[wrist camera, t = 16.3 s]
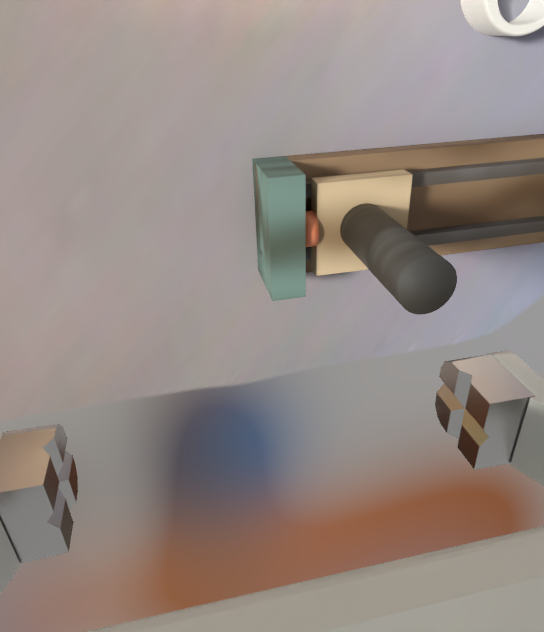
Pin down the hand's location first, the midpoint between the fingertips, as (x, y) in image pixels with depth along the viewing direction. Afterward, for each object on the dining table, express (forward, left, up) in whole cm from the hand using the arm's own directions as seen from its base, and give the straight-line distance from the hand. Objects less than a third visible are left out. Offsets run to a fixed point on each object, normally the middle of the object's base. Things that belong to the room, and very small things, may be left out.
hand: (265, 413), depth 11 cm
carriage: (+6, +12, -26) cm, 30 cm away
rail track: (+6, +19, -29) cm, 35 cm away
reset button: (+6, +8, -27) cm, 29 cm away
